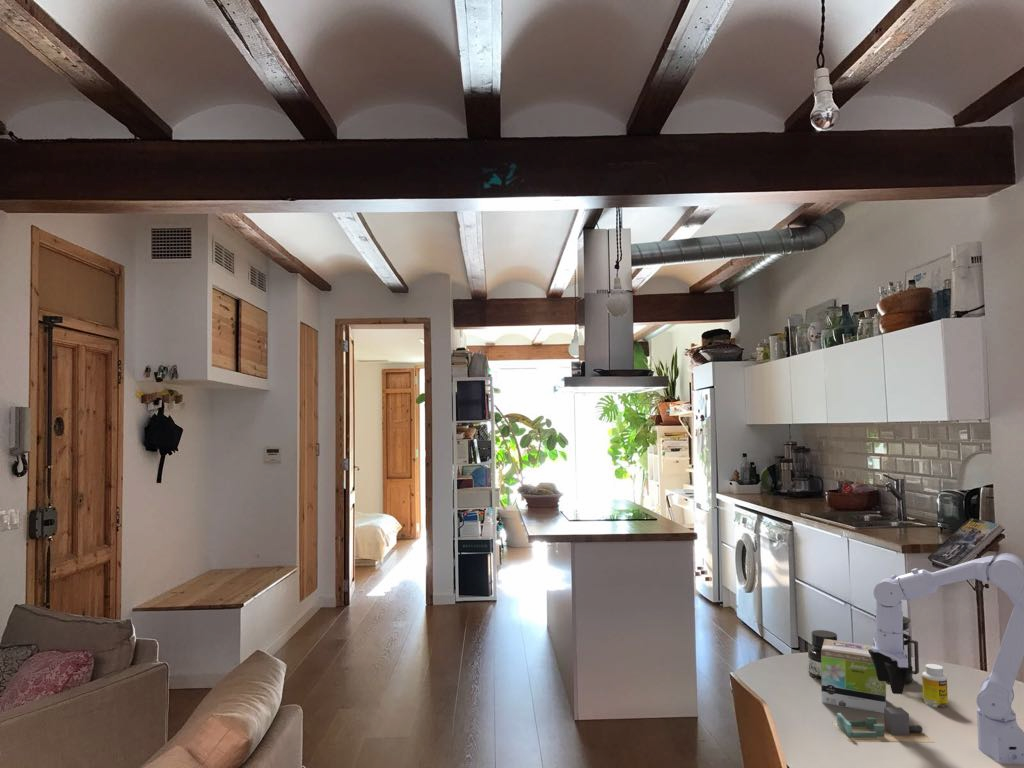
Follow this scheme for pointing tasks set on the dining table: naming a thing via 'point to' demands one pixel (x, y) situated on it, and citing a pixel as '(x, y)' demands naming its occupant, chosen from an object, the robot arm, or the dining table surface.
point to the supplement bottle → (934, 686)
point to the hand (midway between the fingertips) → (889, 686)
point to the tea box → (850, 677)
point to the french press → (909, 650)
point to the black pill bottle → (818, 651)
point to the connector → (899, 722)
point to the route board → (873, 731)
